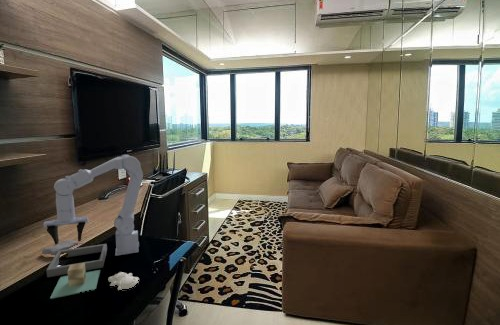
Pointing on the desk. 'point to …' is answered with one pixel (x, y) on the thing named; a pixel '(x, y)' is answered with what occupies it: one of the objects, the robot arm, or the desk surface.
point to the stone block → (59, 247)
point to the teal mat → (64, 289)
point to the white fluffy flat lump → (123, 280)
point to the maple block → (76, 274)
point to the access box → (90, 265)
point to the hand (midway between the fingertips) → (68, 241)
